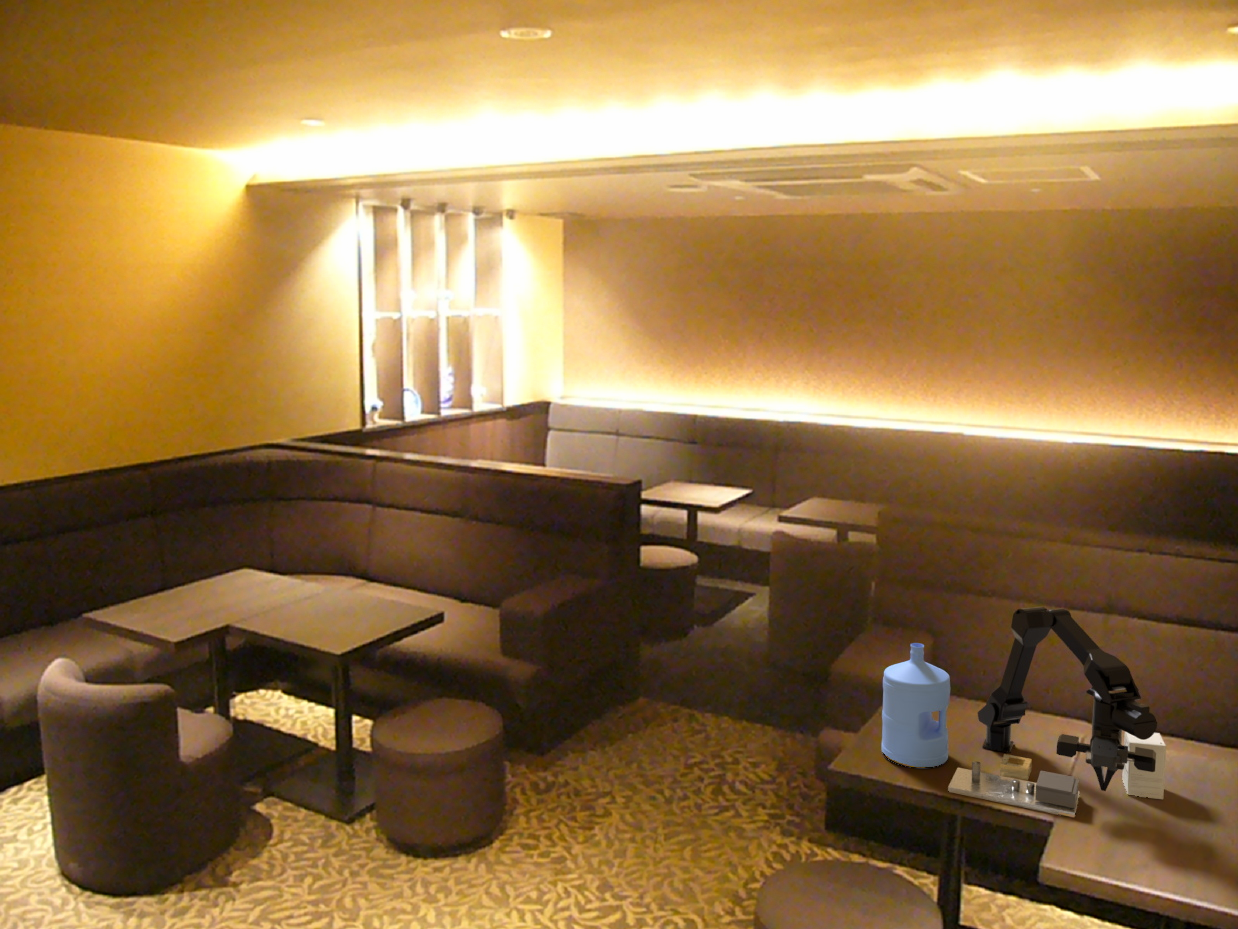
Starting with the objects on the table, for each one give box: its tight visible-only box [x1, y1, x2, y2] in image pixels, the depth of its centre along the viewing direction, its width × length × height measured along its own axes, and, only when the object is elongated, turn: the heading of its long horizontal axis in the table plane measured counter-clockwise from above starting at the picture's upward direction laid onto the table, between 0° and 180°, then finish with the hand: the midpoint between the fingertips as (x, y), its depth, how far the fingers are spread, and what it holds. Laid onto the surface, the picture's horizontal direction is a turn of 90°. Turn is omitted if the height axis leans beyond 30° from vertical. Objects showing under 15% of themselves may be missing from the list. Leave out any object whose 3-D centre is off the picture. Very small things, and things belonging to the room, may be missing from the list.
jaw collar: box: [999, 753, 1033, 781], centre depth 229 cm, size 6×6×3 cm
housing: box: [1035, 770, 1080, 808], centre depth 215 cm, size 8×8×4 cm
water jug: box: [881, 642, 951, 768], centre depth 238 cm, size 16×16×28 cm
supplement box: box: [1121, 731, 1167, 800], centre depth 219 cm, size 7×7×13 cm
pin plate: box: [947, 760, 1081, 816], centre depth 219 cm, size 11×26×6 cm, turn 61°
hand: (1103, 790), depth 210 cm, fingers closed
